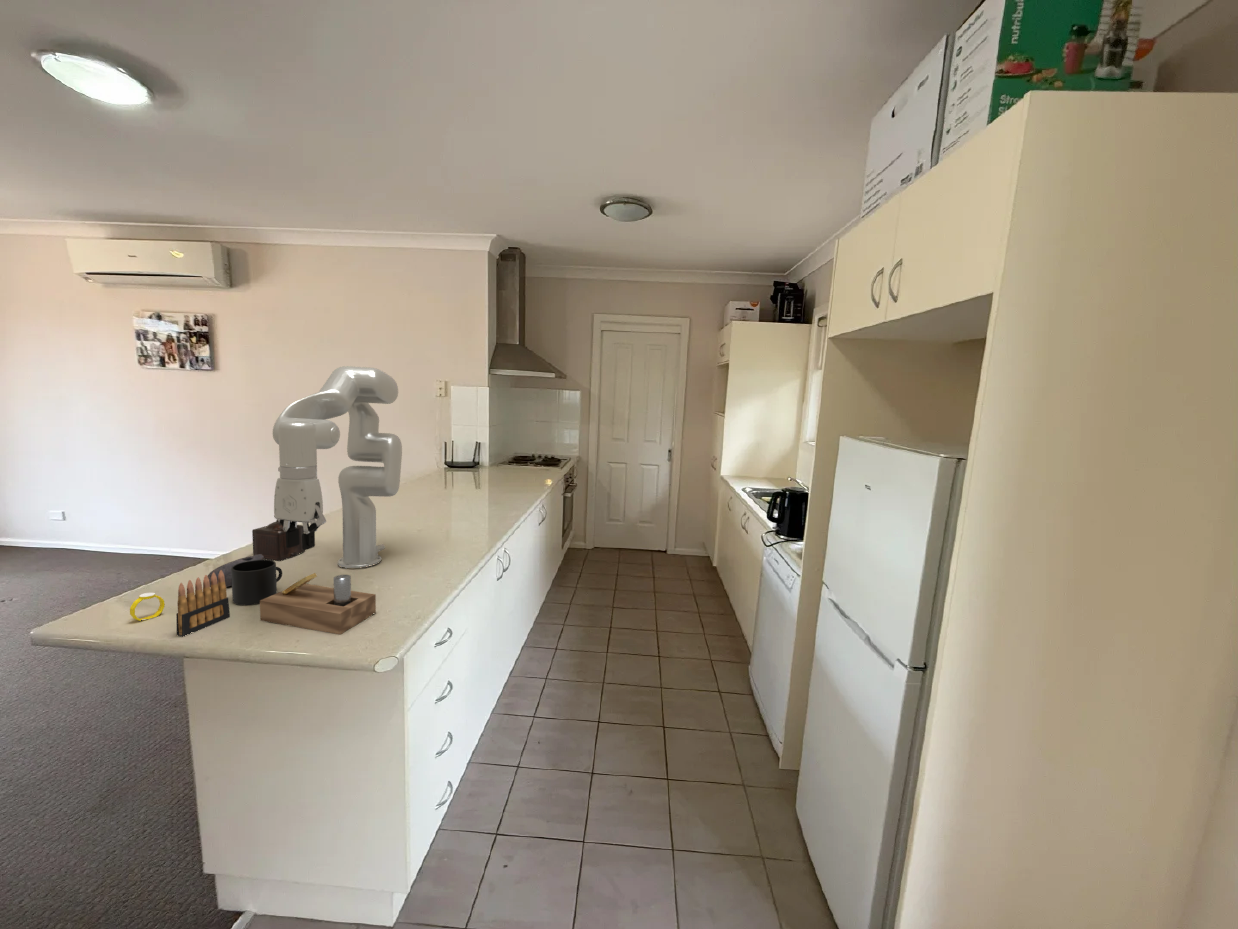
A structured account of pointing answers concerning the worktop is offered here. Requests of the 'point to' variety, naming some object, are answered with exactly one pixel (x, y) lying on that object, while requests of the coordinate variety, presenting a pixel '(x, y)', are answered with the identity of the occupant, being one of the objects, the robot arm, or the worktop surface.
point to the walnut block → (317, 609)
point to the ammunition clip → (202, 604)
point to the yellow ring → (143, 597)
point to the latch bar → (299, 583)
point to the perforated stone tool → (227, 568)
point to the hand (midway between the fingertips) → (300, 546)
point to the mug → (254, 581)
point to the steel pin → (342, 590)
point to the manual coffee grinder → (275, 542)
